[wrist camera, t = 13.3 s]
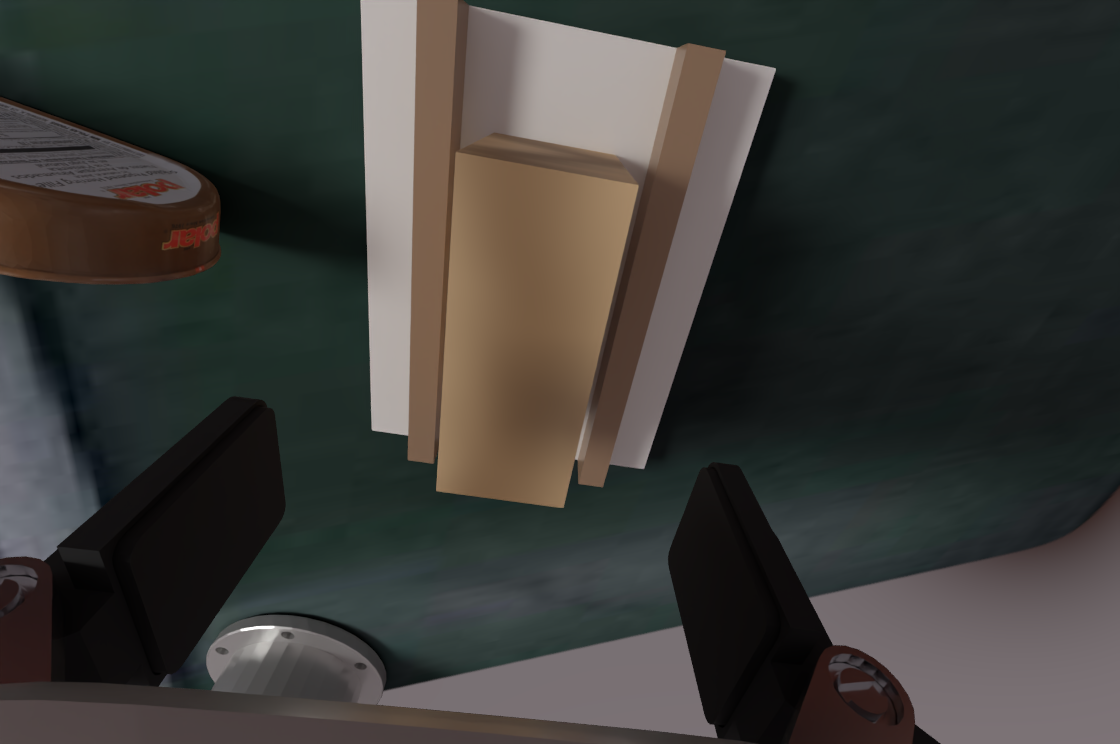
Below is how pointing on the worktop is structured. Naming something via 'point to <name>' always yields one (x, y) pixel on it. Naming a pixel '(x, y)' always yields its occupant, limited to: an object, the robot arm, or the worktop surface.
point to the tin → (98, 206)
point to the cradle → (561, 118)
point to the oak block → (526, 312)
